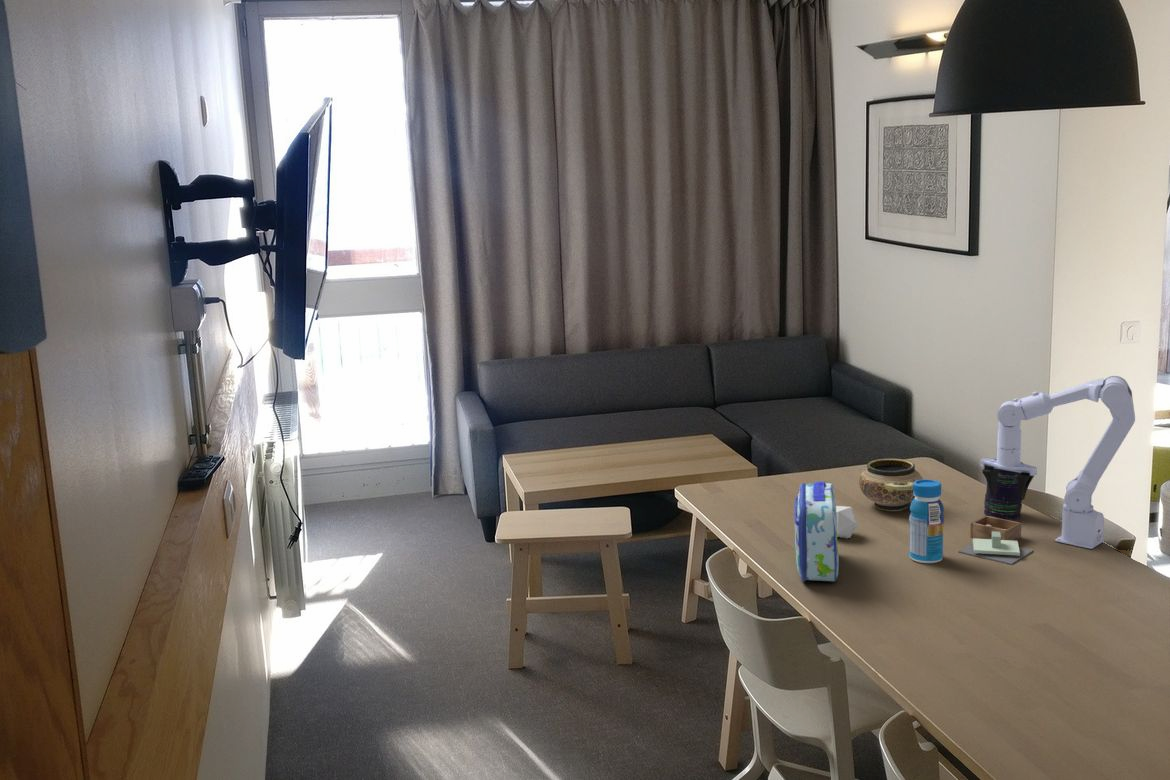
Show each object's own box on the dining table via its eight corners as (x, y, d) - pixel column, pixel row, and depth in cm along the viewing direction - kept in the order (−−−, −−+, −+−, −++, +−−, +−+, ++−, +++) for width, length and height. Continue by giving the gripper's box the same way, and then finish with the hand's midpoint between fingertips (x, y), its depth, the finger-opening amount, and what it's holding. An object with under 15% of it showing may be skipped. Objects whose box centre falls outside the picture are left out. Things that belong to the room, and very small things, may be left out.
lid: (1017, 545, 278) (1017, 529, 277) (1019, 557, 270) (1020, 541, 269) (972, 543, 281) (973, 527, 280) (973, 555, 273) (974, 538, 272)
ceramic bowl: (856, 504, 327) (844, 458, 324) (913, 486, 327) (901, 441, 323) (880, 530, 303) (867, 482, 300) (941, 512, 303) (929, 463, 299)
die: (861, 534, 295) (844, 502, 298) (866, 529, 286) (848, 495, 289) (833, 547, 294) (816, 515, 298) (837, 542, 286) (819, 508, 289)
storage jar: (1018, 522, 296) (1022, 470, 292) (980, 517, 300) (984, 465, 297) (1023, 511, 304) (1027, 461, 301) (986, 506, 309) (990, 456, 306)
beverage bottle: (905, 561, 272) (906, 485, 267) (912, 550, 279) (913, 476, 275) (940, 566, 268) (941, 488, 264) (946, 554, 275) (947, 479, 271)
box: (1020, 537, 284) (1021, 522, 284) (1006, 545, 279) (1007, 530, 278) (984, 529, 292) (985, 515, 291) (970, 537, 286) (970, 523, 286)
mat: (1033, 551, 274) (1033, 550, 274) (1011, 564, 266) (1011, 563, 266) (981, 539, 284) (981, 538, 284) (958, 552, 276) (958, 551, 276)
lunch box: (795, 550, 284) (794, 473, 280) (837, 551, 282) (837, 473, 277) (794, 587, 259) (793, 504, 255) (840, 589, 257) (840, 505, 252)
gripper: (1043, 448, 280) (1041, 498, 283) (989, 440, 290) (988, 488, 293) (1030, 454, 275) (1029, 504, 278) (977, 445, 286) (975, 494, 288)
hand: (1007, 496), depth 285 cm, fingers open, 7 cm apart
